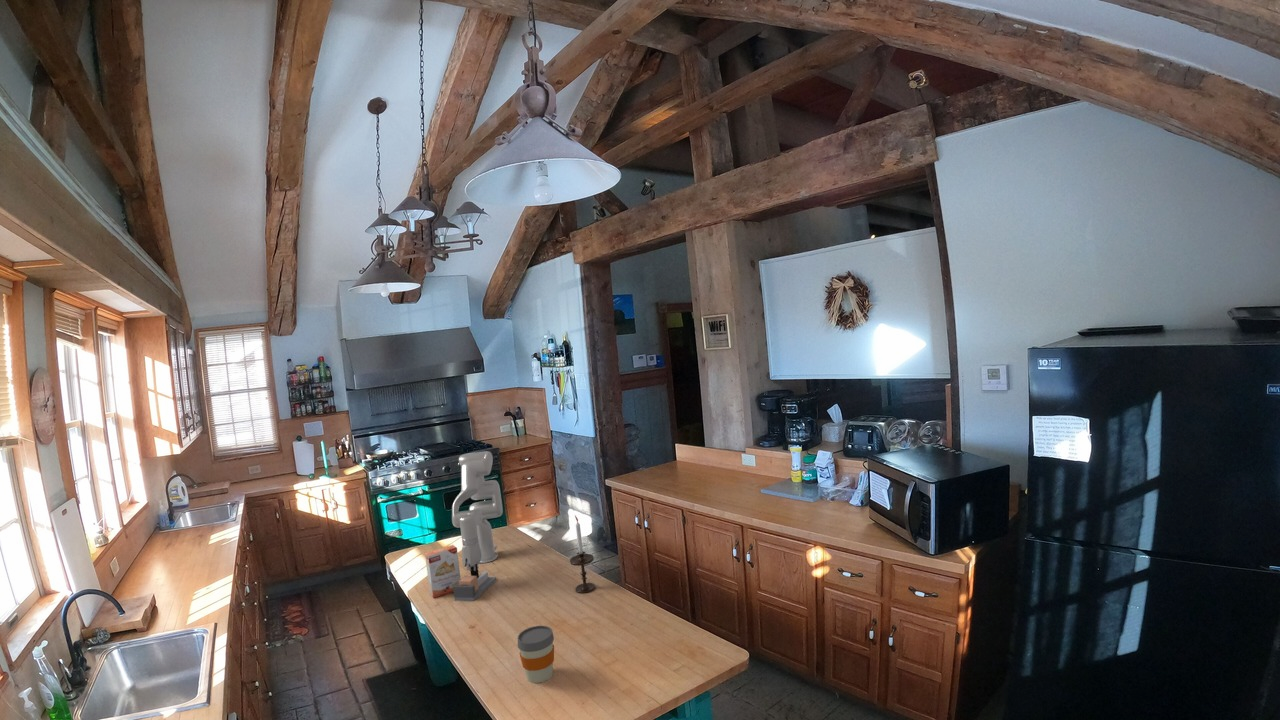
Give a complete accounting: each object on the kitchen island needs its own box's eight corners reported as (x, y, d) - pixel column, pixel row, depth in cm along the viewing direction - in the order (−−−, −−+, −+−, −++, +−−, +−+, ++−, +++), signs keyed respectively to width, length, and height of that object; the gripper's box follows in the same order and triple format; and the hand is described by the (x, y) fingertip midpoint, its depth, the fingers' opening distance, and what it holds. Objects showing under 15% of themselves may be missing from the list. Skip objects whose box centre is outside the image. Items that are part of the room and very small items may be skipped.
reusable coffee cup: (559, 663, 220) (554, 623, 219) (556, 683, 208) (550, 641, 207) (524, 667, 220) (519, 627, 219) (519, 688, 207) (513, 646, 206)
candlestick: (570, 594, 276) (561, 519, 274) (578, 583, 287) (569, 511, 285) (592, 594, 274) (584, 518, 271) (600, 583, 284) (591, 510, 282)
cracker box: (433, 598, 288) (427, 555, 286) (429, 595, 293) (424, 552, 291) (462, 588, 296) (457, 546, 294) (458, 585, 301) (453, 543, 299)
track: (478, 579, 304) (477, 567, 304) (496, 579, 302) (495, 567, 301) (454, 600, 283) (452, 587, 283) (473, 600, 280) (472, 587, 280)
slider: (466, 589, 290) (465, 575, 290) (478, 589, 289) (476, 575, 288) (460, 594, 284) (458, 581, 284) (472, 595, 283) (470, 581, 282)
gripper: (471, 535, 299) (476, 571, 301) (454, 547, 285) (459, 584, 286) (485, 535, 297) (489, 571, 299) (469, 546, 283) (474, 585, 284)
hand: (475, 577), depth 292 cm, fingers closed
